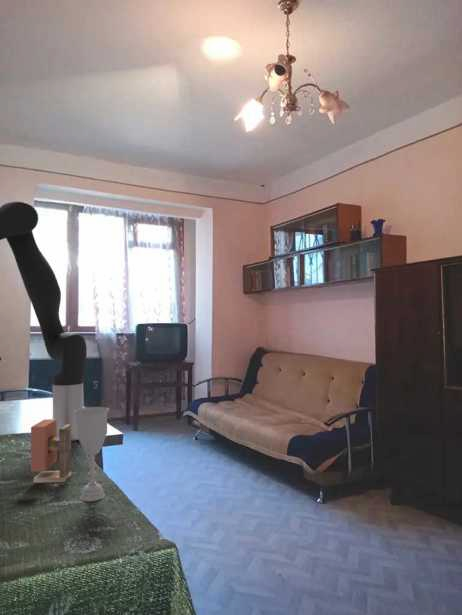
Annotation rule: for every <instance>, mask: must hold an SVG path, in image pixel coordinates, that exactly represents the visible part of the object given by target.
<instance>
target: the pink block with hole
mask: <svg viewBox="0 0 462 615" xmlns="http://www.w3.org/2000/svg"><path fill="white" fill-rule="evenodd" d="M48 438H57V419H53V418H52V419H48V418H47V419H42V420H41V421H39V422H37V423H36V424H34V425H32V426H31V427H30V468H31V469H30V471H31V472H36V473H37V472H41V471H48V469H49V468H50V467H52V466H53V465H54V464H55V463H56V462H57V461H58V450H55V451H51V450H48Z"/></svg>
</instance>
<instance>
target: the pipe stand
mask: <svg viewBox="0 0 462 615" xmlns="http://www.w3.org/2000/svg"><path fill="white" fill-rule="evenodd" d="M48 450H51V451H55V450H57V451H59V455H58V458H59V459H58V462H59V470H46V471H39V473H38V474H37V475H36V476H34V477H33V478H32V479H33V482H32V483H33V484H35V483H36V484H38V483H40V484H42V483H44V484H45V483H65V482H66V481H67V480H68V479H69V478H70V477H71V475H72V441H71V424H66V425H65V426H63V427H62V428H60V429H59V438H58V437H57V438H48Z"/></svg>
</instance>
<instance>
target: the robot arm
mask: <svg viewBox="0 0 462 615" xmlns="http://www.w3.org/2000/svg"><path fill="white" fill-rule="evenodd" d="M38 223H39V214H38V211H37V210H36V208H35V207H34V206H33V205H32V204H30V203H28V202H25V201H10V202H7V203H3V204H2V205H1V206H0V241H1V240H4V239H6V241H7V243H8V245H9V247H10V249H11V251H12V254H13V257H14V260H15V262H16V266H17V269H18V271H19V274H20V276H21V279H22V282H23V285H24V288H25V291H26V293H27V295H28V298H29V301H30V302H31V305H32V307H33V310H34V313H35V316H36V319H37V321H38V324H39V327H40V331H41V335H42V339H43V342H44V346H45V348H46V352H47V354H48V356H49V357H50V359H51V360H53V361H54V362H58V363H62V365H61V369H60V371H59V372H58V373H55V374H54V375H53V376H52V419H57V437H58V438H59V429H60V428H62V427H63V426H65V425H66V424H71V442H72V441H74V442H75V441H79V439H78V436H77V416H76V414H75V412H74V411H75V410H77V409H81V408H85V407H84V378H85V375H86V372H87V371H86V370H87V351H88V350H87V349H88V348H87V342H86V340H85V338H84V336H83V335H82V334H80V333H74V332H65V329H64V328H63V325H62V323H61V319H60V306H61V301H62V300H61V299H62V292H61V287H60V285H59V282H58V279H57V277H56V274H55V272H54V270H53V268H52V267H51V265H50V264H49V262H48V260H47V259H46V257H45V256H44V255H43V253H42V251H41V250H40V248H39V246H38V244H37V242H36V239H35V236H34V233H33V231H34V229H36V227H37V225H38ZM1 361H2V358H1V357H0V362H1Z"/></svg>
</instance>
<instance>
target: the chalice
mask: <svg viewBox="0 0 462 615" xmlns="http://www.w3.org/2000/svg"><path fill="white" fill-rule="evenodd" d="M109 411H110V408H109V407H104V406H103V407H102V406H91V407H84V408H81V409H77V410H75V411H74V412H75V414H76V416H77V436H78V441H79V444H80V446H81V448H82V449H83V452H84V453H85V455H87V456H88V455H89V463H88V465H89V466H88V467H89V472H87V474H88V475H89V478H90V479H89V482H88V484H86V485H85V486H84V487H83V488H82V489H83V490H82V492H81V495H80V497H79V500H81V501H83V502H94V501H95V502H96V501H99V500H102V499H104V498H105V497H106V494H105V492H104V489H103V488H102V487H103V486H102V485H101V484H100V483H97V482H96V475H97V474H98V472H97V471H96V469H95V468H96V466H97V462H96V459H95V458H96V455H98V454H99V453H100V451H101V450H102V447H103V445H104V442H105V440H106V437H107V433H108V413H109Z"/></svg>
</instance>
